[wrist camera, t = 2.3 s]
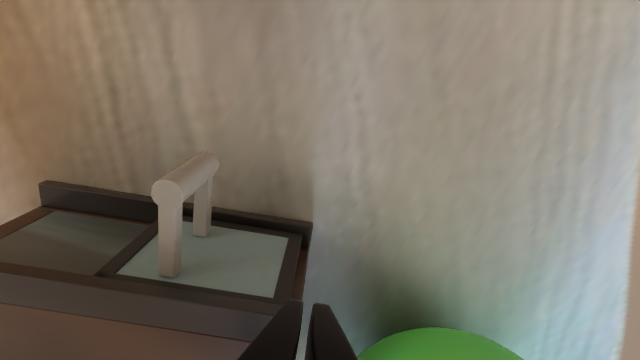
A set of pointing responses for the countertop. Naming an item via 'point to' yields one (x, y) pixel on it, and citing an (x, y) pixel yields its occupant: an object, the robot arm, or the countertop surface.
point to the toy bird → (436, 346)
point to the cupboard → (115, 285)
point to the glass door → (206, 245)
